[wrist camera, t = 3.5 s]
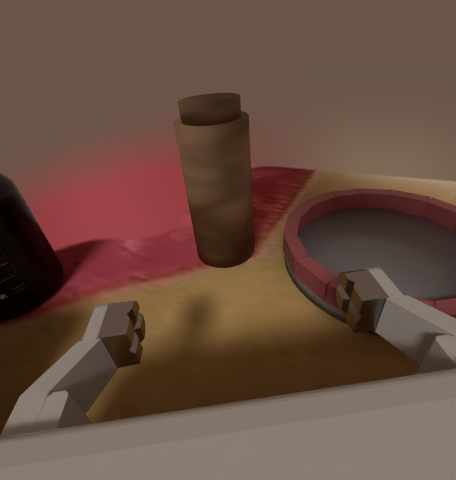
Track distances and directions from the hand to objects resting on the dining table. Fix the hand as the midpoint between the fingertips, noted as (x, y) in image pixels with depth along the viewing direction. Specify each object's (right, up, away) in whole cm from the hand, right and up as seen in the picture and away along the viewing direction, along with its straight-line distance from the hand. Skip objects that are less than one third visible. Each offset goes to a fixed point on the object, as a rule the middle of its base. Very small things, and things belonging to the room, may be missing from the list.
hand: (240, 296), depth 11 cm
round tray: (+12, +1, +11) cm, 16 cm away
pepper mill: (-1, +1, +14) cm, 14 cm away
